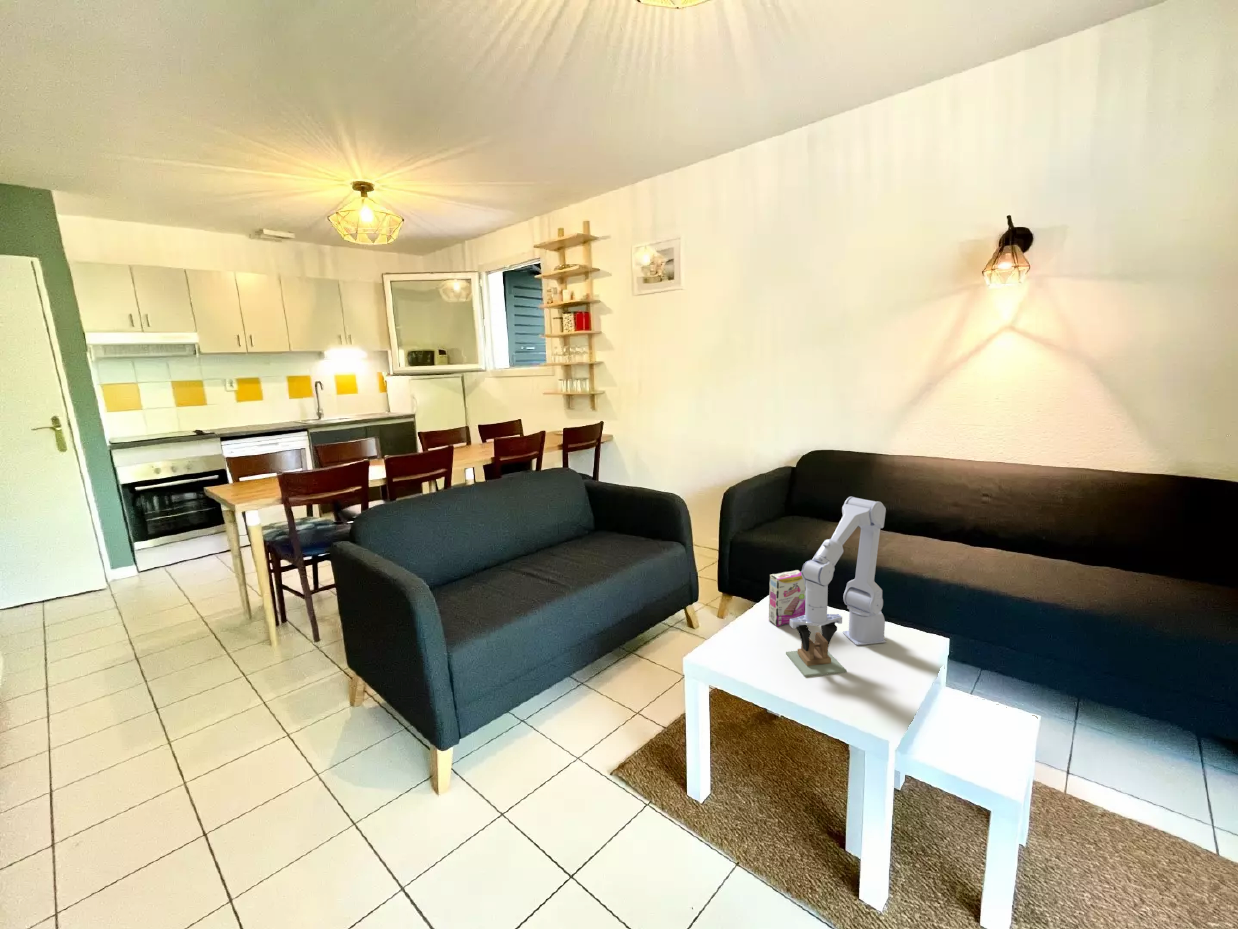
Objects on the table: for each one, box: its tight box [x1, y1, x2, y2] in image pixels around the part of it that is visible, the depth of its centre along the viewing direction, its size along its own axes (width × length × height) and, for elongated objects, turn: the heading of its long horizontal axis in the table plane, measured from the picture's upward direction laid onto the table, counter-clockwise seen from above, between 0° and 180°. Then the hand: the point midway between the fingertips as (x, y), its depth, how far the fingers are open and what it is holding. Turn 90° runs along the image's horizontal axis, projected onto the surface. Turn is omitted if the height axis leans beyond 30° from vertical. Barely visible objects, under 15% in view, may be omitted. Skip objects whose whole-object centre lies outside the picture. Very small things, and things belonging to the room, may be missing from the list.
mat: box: [785, 650, 848, 678], centre depth 149 cm, size 12×12×1 cm
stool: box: [796, 631, 831, 666], centre depth 148 cm, size 7×6×6 cm
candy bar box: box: [768, 569, 806, 627], centre depth 172 cm, size 11×5×16 cm, turn 108°
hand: (815, 648), depth 148 cm, fingers closed on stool, 5 cm apart
